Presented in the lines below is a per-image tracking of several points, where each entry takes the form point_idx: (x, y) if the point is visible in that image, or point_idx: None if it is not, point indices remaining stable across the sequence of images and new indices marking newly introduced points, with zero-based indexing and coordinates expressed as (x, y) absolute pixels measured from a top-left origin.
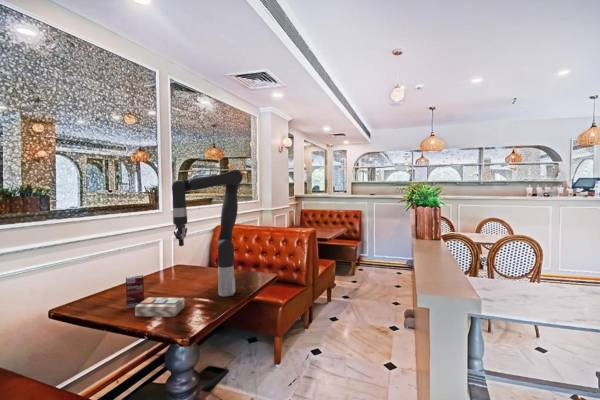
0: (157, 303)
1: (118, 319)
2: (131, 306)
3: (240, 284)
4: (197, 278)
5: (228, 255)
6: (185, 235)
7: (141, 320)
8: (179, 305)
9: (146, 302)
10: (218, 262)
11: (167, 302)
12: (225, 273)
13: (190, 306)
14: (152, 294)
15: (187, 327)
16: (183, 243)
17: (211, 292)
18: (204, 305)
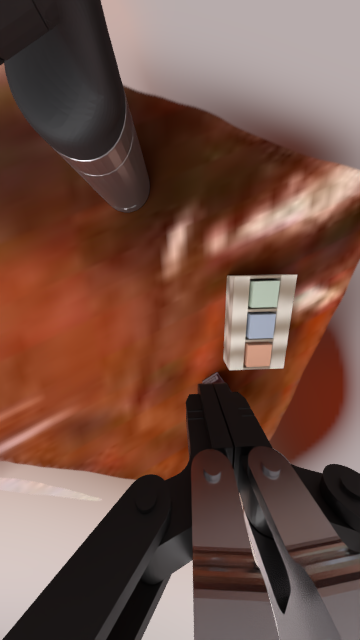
0: (273, 326)
1: (283, 378)
2: (230, 390)
3: (26, 160)
4: (11, 338)
5: None
6: (118, 525)
7: (293, 334)
8: (260, 275)
9: (270, 354)
10: (115, 117)
11: (274, 303)
12: (131, 117)
13: (223, 261)
14: (152, 389)
15: (342, 212)
16: (209, 397)
17: (120, 243)
18: (217, 223)
